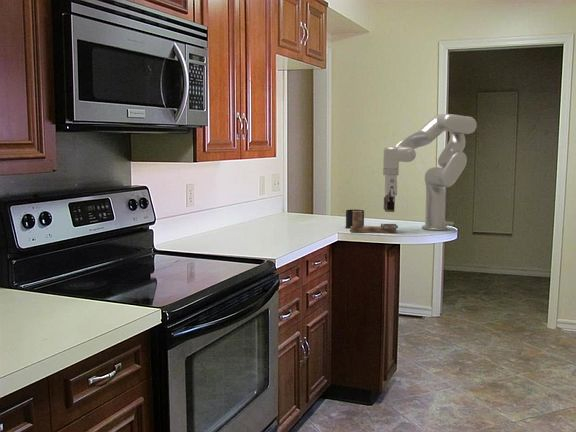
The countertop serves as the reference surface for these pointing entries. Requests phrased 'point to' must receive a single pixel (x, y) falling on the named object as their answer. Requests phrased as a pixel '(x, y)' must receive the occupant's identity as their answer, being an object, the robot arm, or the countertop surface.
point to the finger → (386, 204)
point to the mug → (351, 217)
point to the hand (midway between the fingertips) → (389, 208)
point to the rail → (359, 228)
